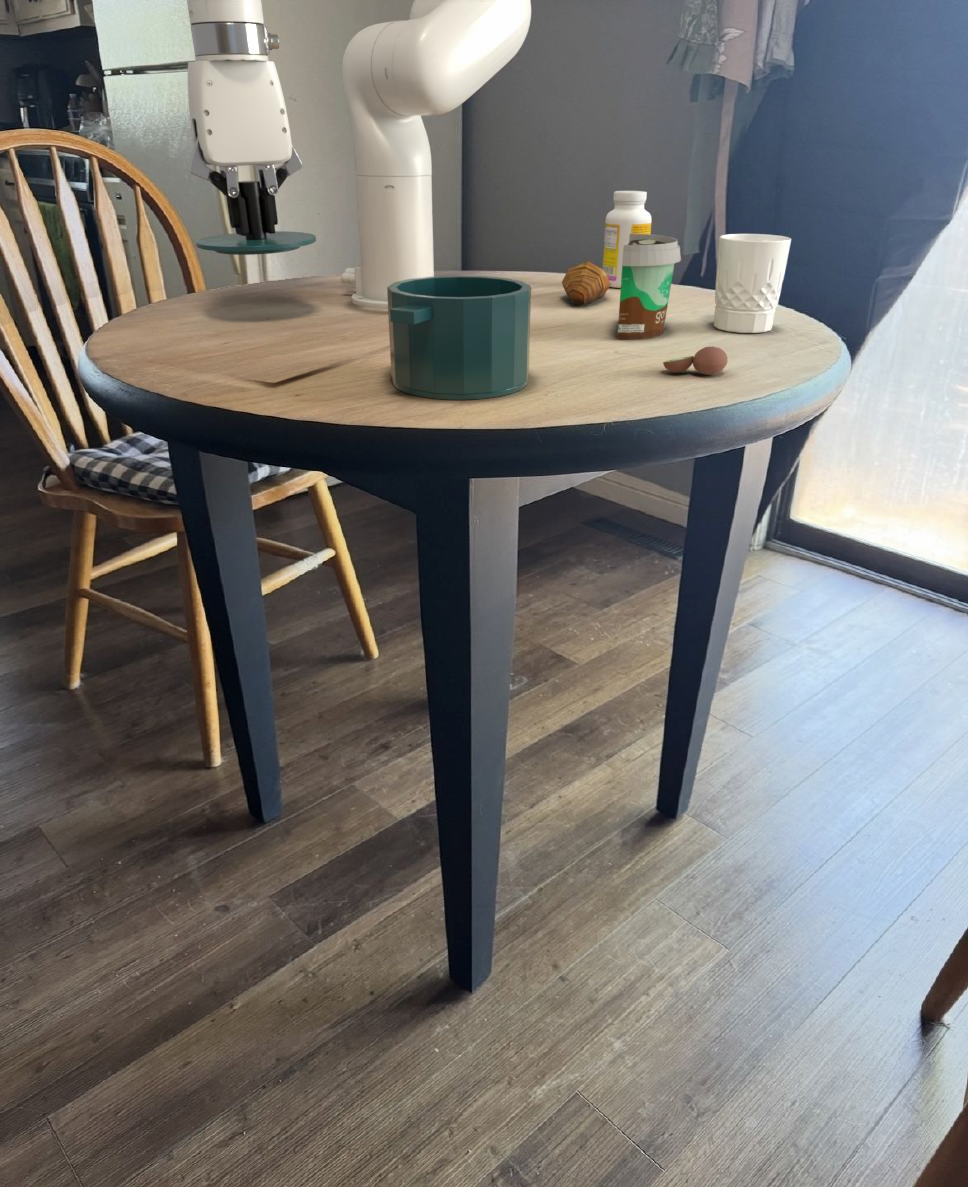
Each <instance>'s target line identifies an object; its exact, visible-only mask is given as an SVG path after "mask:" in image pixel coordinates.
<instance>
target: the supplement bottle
mask: <svg viewBox="0 0 968 1187" xmlns="http://www.w3.org/2000/svg"><path fill="white" fill-rule="evenodd" d="M647 195H648V192H647V191H642V190H615V191H614V192H613V199H612V201H613V203H614V207H613V209H612V210H610V211H609V212H608V213H607V214H606V216H605V222H604V224H605V225H604V238H603V239H604V240H603V258H602V269H603V270H604V271H605V273H606V275H607V277H608V279H609V281H610V283H611V285H610V286H609V288H613V289H614V288H616V289H621V277H622V258H623V247H624V245H628V244H629V235H630V234H649V235H652V215H651V213H650V212H649V211H647V210H646V209H645V204H646V201H647Z"/></svg>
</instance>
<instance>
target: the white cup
mask: <svg viewBox="0 0 968 1187" xmlns="http://www.w3.org/2000/svg"><path fill="white" fill-rule="evenodd" d="M791 243H792V238H791V237H790V236H785V235H778V234H777V235H776V234H767V233H761V234H760V233H729V234H721V235H720V236H718V251H717V263H716V273H715V274H716V276H715V290H714V291H715V292H714V293H715V294H714V302H715V303H714V304H715V306H714V315H713V316H714V317H713V327H714V328H716V329H717V330H721V331H725V332H730V333H740V334H758V333H759V334H761V333H767V332H771V330H772V329H773V327H774V326H773V325H774V321H775V314H776V310H777V309H776V308H777V307H778V305H779V301H780V296H781V293H782V287H783V282H784V280H785V275H786V270H787V264H788V260H789V259H788V258H789V255H790V254H789V253H790V248H791Z"/></svg>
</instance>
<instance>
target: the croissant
mask: <svg viewBox="0 0 968 1187" xmlns="http://www.w3.org/2000/svg"><path fill="white" fill-rule="evenodd" d="M610 285H611V283H610V281H609V279H608V277H607V275H606V273H605V271H604V270H603V268H601V267H600V266H597V265H596V264H594V263H592V262H590V261H588V260H587V261H584V262H582V263H580V264H576V265H574V266H571V267H569V268H568V269H567V271H566V273H565V275H564V277H563V279H562V281H561V286H562V287H563V289H564V292H565V293H566V295H567V297H568V300H569V301H570V302H571V303H572V304H575V305H578V306H584V305H588V304H591V303H593V302H596V301H597V300H600V299H602V298H604V296H605V295H606V293H607V291H608V290H609V288H610V287H609V286H610Z"/></svg>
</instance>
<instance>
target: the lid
mask: <svg viewBox="0 0 968 1187" xmlns="http://www.w3.org/2000/svg"><path fill="white" fill-rule="evenodd" d="M238 189H239V191H240V195H241V197H243V198H244V200H245V206H246V213H247V221H248V228H249V234H248V235H247V236H241V235H239V234H237V233H236V232H235V233H233V232H232V233H226V234H225V233H224V234H216V235H211V236H206V237H203V238H199V239H197V240H196V241H195V245H196V248H198V249H200V250H205V251H212V252H215V253H218V254H222V255H235V256H236V255H237V256H251V255H252V256H253V255H254V256H255V255H268V254H278V253H286V252H291V251H295V250H298V249H300V248H301V247H304V246H309V245H312V244H314V243H316V242H317V237H316V235H315V234H313V233H310V232H301V231H287V230H286V231H285V230H283V231H282V230H281V231H279V230H278V231H277V230H275V233H274V234H270V233H266V227H265V219H264V211H263V203H262V195H261V188H260V181H259V180H242V181H238Z"/></svg>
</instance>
